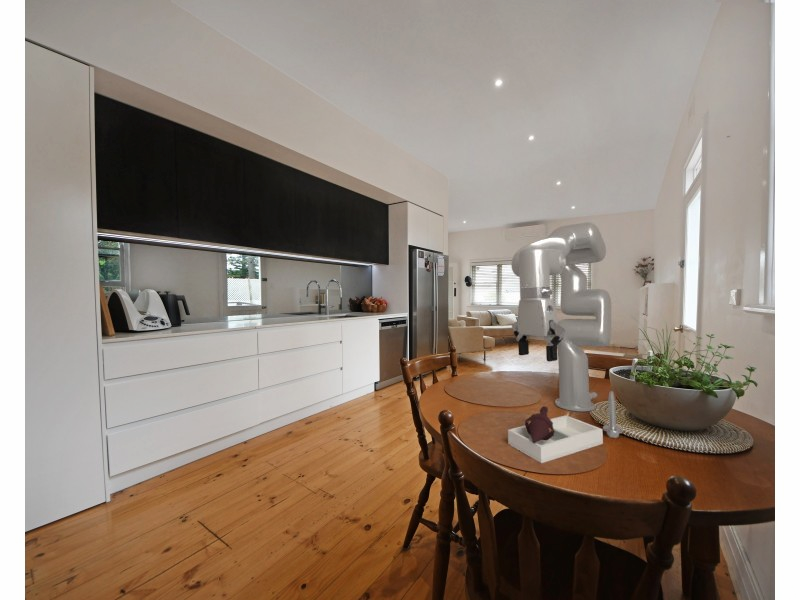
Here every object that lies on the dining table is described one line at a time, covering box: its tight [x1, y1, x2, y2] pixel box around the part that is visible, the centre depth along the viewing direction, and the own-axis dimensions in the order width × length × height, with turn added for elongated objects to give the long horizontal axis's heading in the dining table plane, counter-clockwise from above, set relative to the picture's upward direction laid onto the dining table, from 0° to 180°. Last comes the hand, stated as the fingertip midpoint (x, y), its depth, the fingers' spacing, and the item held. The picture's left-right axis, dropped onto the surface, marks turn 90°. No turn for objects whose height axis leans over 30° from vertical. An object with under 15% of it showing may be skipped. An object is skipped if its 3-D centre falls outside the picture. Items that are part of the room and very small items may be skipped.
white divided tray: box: [507, 415, 604, 464], centre depth 89 cm, size 22×12×4 cm, turn 113°
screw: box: [602, 390, 624, 439], centre depth 92 cm, size 13×5×5 cm
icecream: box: [524, 406, 555, 443], centre depth 86 cm, size 7×7×15 cm
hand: (537, 357), depth 87 cm, fingers open, 9 cm apart
